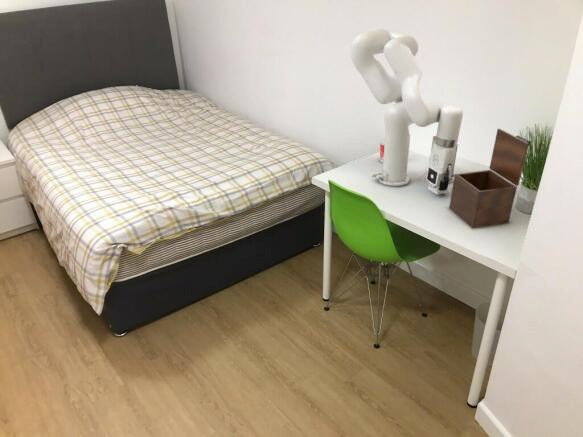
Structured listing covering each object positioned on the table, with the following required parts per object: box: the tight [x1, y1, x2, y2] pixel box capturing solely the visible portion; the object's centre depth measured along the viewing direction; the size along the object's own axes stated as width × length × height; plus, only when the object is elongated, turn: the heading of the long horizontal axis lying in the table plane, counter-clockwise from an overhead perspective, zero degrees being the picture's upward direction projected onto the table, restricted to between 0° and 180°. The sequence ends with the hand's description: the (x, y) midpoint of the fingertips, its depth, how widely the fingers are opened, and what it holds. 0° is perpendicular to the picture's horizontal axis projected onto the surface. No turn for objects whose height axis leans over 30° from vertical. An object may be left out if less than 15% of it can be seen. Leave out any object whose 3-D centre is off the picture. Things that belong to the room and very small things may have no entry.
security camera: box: [425, 164, 451, 195], centre depth 174 cm, size 6×7×10 cm
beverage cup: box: [379, 138, 385, 163], centre depth 204 cm, size 6×6×14 cm
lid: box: [488, 128, 531, 187], centre depth 154 cm, size 15×15×6 cm
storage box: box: [448, 169, 518, 229], centre depth 159 cm, size 14×15×13 cm
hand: (437, 185), depth 176 cm, fingers closed on security camera, 7 cm apart
